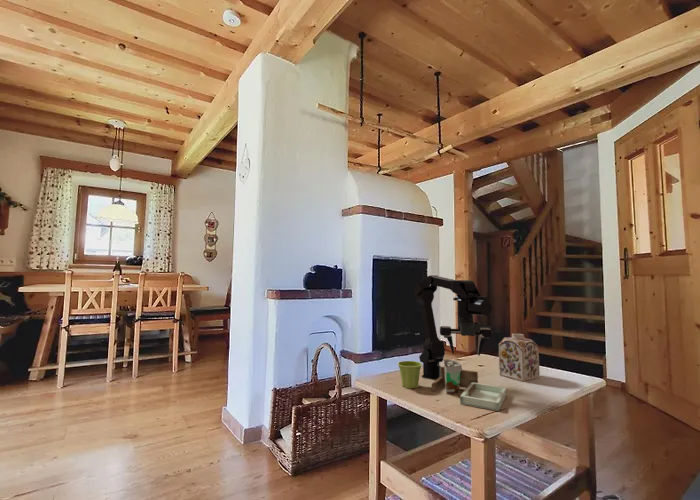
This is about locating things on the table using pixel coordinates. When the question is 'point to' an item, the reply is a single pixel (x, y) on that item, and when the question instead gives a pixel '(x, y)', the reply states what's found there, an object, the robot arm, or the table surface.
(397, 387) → the table surface
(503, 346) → the decorative jar
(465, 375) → the wooden pieces
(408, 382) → the plant pot
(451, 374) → the food container
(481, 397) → the tray
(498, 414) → the table surface
